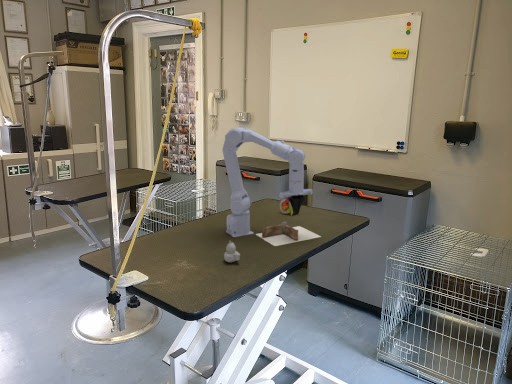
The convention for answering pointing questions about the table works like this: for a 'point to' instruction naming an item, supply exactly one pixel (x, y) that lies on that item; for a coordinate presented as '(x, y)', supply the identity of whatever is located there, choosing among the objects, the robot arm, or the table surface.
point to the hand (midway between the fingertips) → (295, 213)
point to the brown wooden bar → (291, 232)
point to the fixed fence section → (273, 230)
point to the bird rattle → (286, 206)
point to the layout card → (285, 239)
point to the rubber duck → (231, 253)
